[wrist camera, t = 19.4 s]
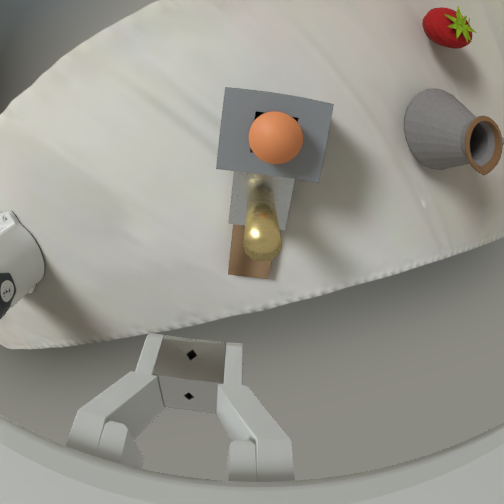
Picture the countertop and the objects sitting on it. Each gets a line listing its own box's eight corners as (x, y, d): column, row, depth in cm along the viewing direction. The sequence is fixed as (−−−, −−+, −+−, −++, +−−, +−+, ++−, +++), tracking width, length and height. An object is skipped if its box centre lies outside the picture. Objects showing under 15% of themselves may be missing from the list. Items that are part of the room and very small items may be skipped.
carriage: (230, 214, 38) (218, 274, 26) (236, 162, 35) (224, 200, 22) (283, 220, 38) (294, 283, 26) (292, 170, 35) (312, 212, 23)
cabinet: (226, 150, 36) (216, 168, 27) (233, 90, 32) (225, 87, 23) (307, 162, 36) (324, 183, 27) (318, 103, 32) (339, 105, 23)
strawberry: (401, 12, 24) (439, -3, 15) (442, 17, 23) (482, 7, 14) (412, 50, 27) (453, 43, 18) (452, 52, 26) (495, 50, 17)
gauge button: (248, 142, 34) (245, 160, 24) (253, 106, 31) (252, 108, 22) (286, 147, 34) (298, 167, 24) (291, 111, 32) (307, 116, 22)
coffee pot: (398, 167, 36) (458, 206, 23) (390, 87, 30) (457, 90, 17) (496, 160, 33) (556, 192, 20) (494, 95, 28) (560, 110, 15)
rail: (228, 268, 44) (228, 274, 43) (241, 154, 36) (241, 156, 35) (267, 273, 45) (267, 278, 43) (287, 160, 36) (289, 163, 35)
